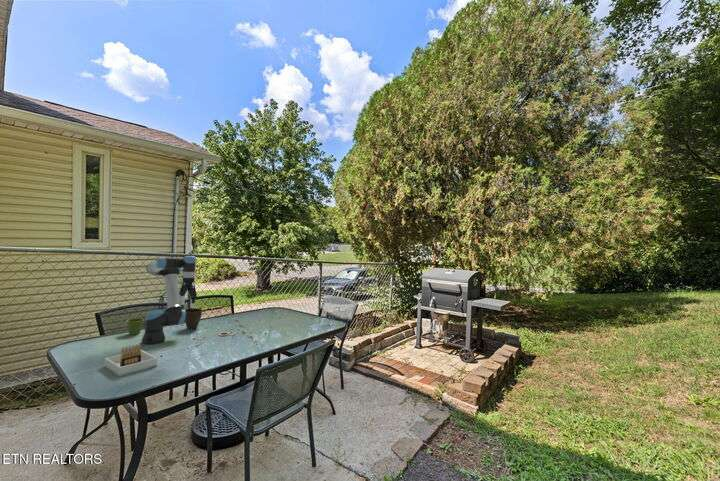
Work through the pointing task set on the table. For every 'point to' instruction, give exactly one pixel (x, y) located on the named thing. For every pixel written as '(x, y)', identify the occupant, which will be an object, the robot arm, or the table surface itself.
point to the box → (145, 363)
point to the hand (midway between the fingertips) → (187, 306)
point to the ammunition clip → (130, 355)
